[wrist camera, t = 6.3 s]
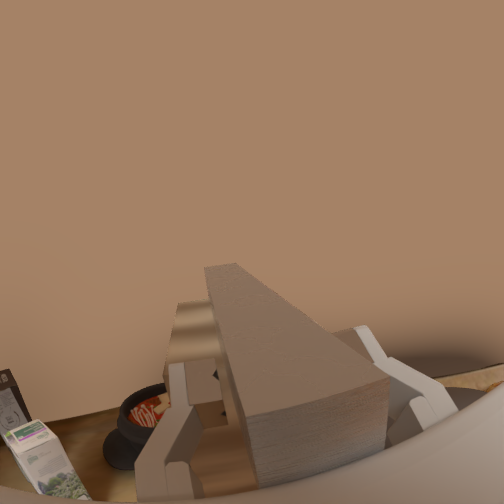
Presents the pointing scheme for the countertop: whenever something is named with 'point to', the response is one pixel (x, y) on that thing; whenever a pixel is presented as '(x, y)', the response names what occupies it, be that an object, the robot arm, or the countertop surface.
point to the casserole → (135, 426)
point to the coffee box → (11, 408)
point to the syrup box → (45, 461)
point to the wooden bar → (293, 383)
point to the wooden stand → (229, 436)
